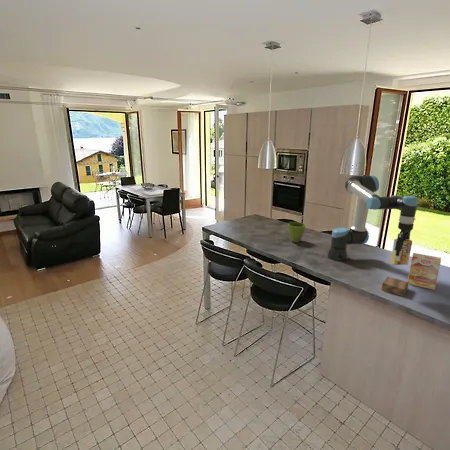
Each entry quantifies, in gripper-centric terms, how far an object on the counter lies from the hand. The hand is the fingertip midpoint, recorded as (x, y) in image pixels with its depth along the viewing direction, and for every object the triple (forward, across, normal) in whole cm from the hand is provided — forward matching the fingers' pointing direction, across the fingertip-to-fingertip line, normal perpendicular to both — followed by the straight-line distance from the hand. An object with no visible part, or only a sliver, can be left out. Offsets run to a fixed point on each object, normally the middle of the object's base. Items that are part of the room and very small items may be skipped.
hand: (400, 258), depth 183 cm
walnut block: (+21, 0, 0) cm, 21 cm away
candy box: (+4, 0, 0) cm, 4 cm away
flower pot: (+21, +30, +95) cm, 102 cm away
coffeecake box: (+21, +19, -9) cm, 30 cm away
